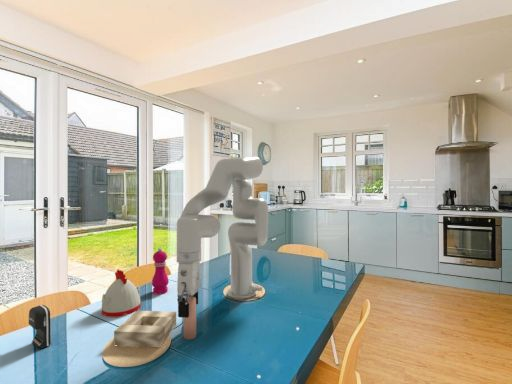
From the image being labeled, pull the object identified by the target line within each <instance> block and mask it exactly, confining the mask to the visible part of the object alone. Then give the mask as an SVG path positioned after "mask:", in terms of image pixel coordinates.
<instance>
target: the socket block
mask: <svg viewBox="0 0 512 384" xmlns="http://www.w3.org/2000/svg"><path fill="white" fill-rule="evenodd" d="M176 326H177V311H169V310H168V311H166V310H165V311H160V310H137V311H135V312H133V313H132V315H130V316H129V317H128V318H127V319H126V320H125V321H123V323H121V324H120V325H119V326H118V327H117V328H115V330H114V331H113V346H114V345H117V346H116V347H126V346H135V347H134V348H150V347H160V346H161V347H162V346H163V344H164V343H165V341H166V340H167V338H168V337H169V336H170V335H171V333H172V332H173V330H174V329H175V328H176ZM165 339H166V340H165ZM136 346H138V347H136ZM161 347H160V348H161Z"/></svg>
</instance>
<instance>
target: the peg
mask: <svg viewBox="0 0 512 384" xmlns="http://www.w3.org/2000/svg"><path fill="white" fill-rule="evenodd" d="M184 298H185V300H186V297H184ZM188 304H189V317H188V318H183V317H182V318H183V323H182V324H183V327H182V328H183V339H185V340H193V339H195V338H196V337H197V305H196V298H195V297H189V300H188Z"/></svg>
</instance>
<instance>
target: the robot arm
mask: <svg viewBox="0 0 512 384" xmlns="http://www.w3.org/2000/svg"><path fill="white" fill-rule="evenodd" d="M262 161H263V160H261V159H260V158H259V157H257V156H246V157H245V156H244V157H243V156H242V157H229V158H222V159H220V160H218V161H217V162H216V164H215V166H214V168H213V170H212V172H211V175H210V177H209V179H208V182H207V184H206V186H205V188H203V189H202V190H201V191H199V192H197V194H195V195H194V196H193V197H191V198H190V199H189V201H188V202H187V203H186V204H185V207H184V208H183V211H182V212H181V215H180V217H179V218H177V221H176V262H177V263H178V268H177V288H176V290H177V291H176V292H177V317H178V318H188V317H189V304H188V300H189V297H195V298H196V306H197V305H199V289H200V288H201V286H202V277H201V275H202V274H201V260H202V239H203V238H206V239H207V238H213V237H215V236H217V234H219V232H220V230H221V221H220V220H219V219H218V217H216V216H214V215H210V214H200V213H201V212H202V211H203V210H204V209H206V208H208V207H210V206H213V205H215V204H217V203H218V204H219V203H220V202H222V201H224V200H225V199H227V197H228V195H229V191H230V189H231V187H232V190H233V191H232V215H233V217H234V218H235V219H238V220H249V221H250V220H251V221H254V222H243V221H242V222H241V221H240V222H233V223H232V224H230V226H229V227H228V230H227V235H228V236H227V237H228V242H229V248H230V288H229V289H228V290H227V296H228V297H230V298H232V299H236V300H237V299H238V300H244V299H245V298H246V299H250V298H252V296H253V297H254V296H256V293H257V291H258V292H262V291H263V286H261V284H255V283H254V281H253V252H252V250H251V248H250V247H249V246H257V247H259V246H260V247H261V246H262V247H263V246H264V245H266V243H267V241H268V236H269V233H268V232H269V205H268V203H267V201H266V199H265V198H259V197H253V185H252V183H251V182H250V180H252V179H256V178H258V177H259V176H261V174H262V172H263V170H264V165H263V162H262ZM185 298H186V300H185ZM246 299H245V300H246Z"/></svg>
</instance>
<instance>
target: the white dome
mask: <svg viewBox="0 0 512 384" xmlns="http://www.w3.org/2000/svg"><path fill="white" fill-rule="evenodd" d="M114 274H115V280H114V281H113V282H112V283H111V284H110V285H109V286H108V288H107V290H106V291H105V294H102V297H101V298H102V299H101V314H102V316H104V317H108V318H109V317H110V318H117V317H123V316H128V315H130V314H134V313H135V312H136V311H139V309H141V306H142V304H141V297H140V289H139V288H137V287H136V285H135V284H134V283H133V282H132V281H131V280H129V279H128V278H126V274H124V270H120V269H117V270H116V272H114Z"/></svg>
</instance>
